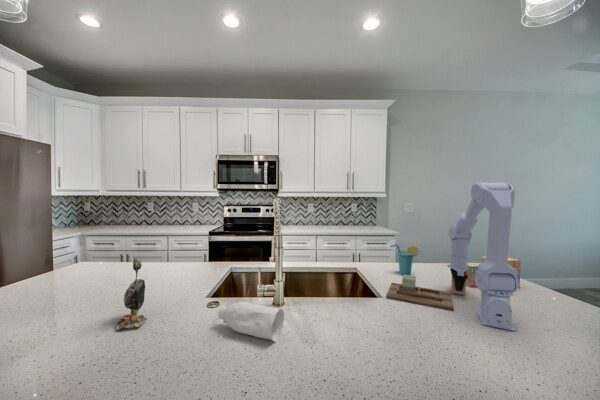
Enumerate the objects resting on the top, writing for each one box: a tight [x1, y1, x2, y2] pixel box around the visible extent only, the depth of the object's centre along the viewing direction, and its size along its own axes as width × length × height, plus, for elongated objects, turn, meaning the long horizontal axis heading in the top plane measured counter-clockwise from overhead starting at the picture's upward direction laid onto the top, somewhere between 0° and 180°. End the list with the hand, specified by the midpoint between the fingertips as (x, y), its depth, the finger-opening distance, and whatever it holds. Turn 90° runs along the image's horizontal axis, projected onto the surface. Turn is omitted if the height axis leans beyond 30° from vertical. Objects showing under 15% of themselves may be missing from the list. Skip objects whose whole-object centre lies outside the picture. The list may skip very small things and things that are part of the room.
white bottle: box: [217, 301, 285, 342], centre depth 71 cm, size 8×19×8 cm, turn 68°
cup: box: [389, 243, 420, 276], centre depth 125 cm, size 14×8×15 cm, turn 94°
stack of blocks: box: [465, 255, 521, 289], centre depth 111 cm, size 21×6×12 cm, turn 89°
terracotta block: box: [450, 275, 467, 296], centre depth 102 cm, size 4×4×6 cm
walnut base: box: [385, 275, 455, 312], centre depth 98 cm, size 16×22×7 cm
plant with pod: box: [115, 257, 147, 331], centre depth 75 cm, size 8×11×20 cm
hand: (458, 288), depth 102 cm, fingers closed on terracotta block, 4 cm apart
